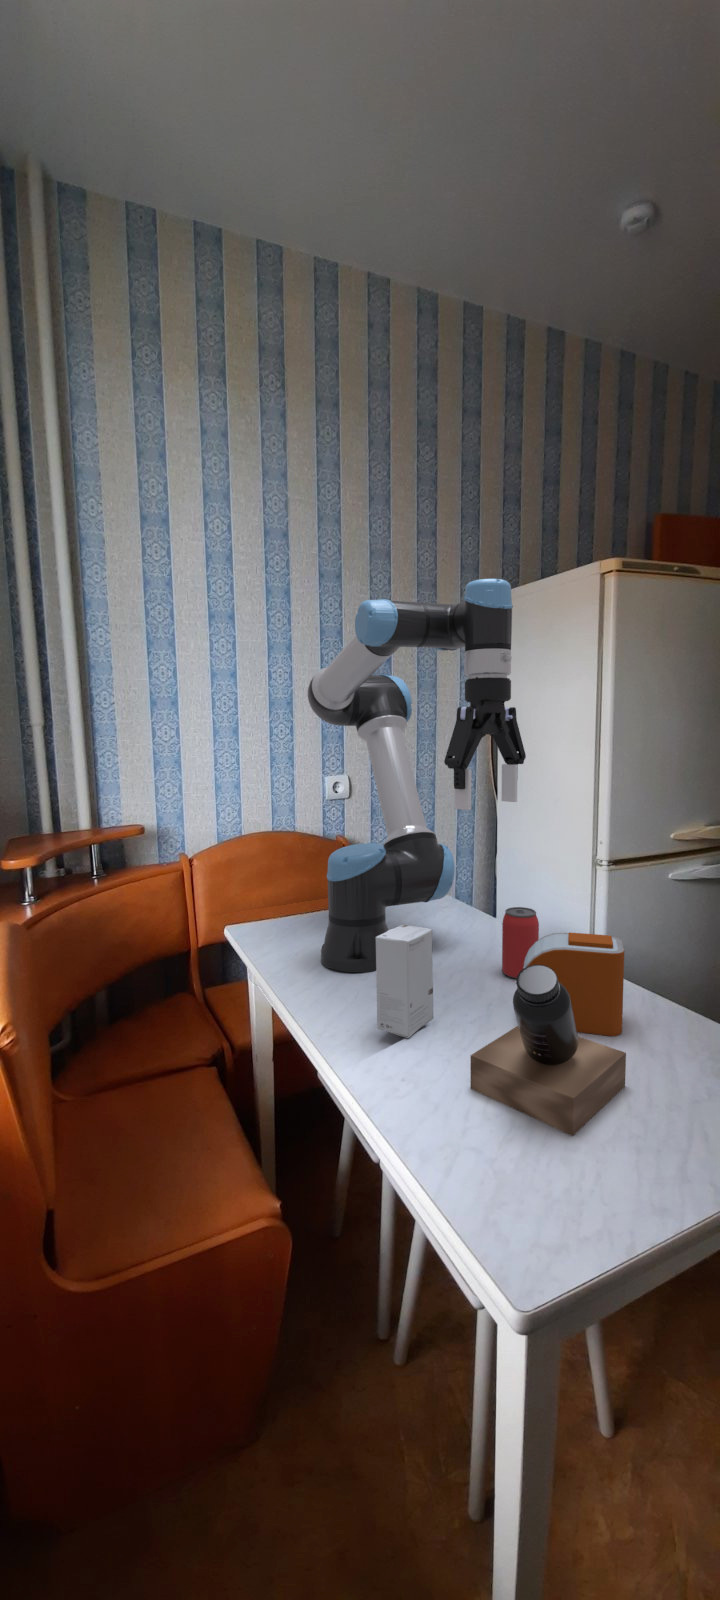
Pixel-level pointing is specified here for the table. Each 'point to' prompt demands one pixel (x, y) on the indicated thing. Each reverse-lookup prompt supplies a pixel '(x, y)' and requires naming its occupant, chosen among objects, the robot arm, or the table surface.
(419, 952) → the skincare box
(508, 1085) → the walnut block
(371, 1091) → the table surface
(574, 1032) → the supplement bottle
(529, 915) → the beer can
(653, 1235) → the table surface
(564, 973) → the alarm clock
